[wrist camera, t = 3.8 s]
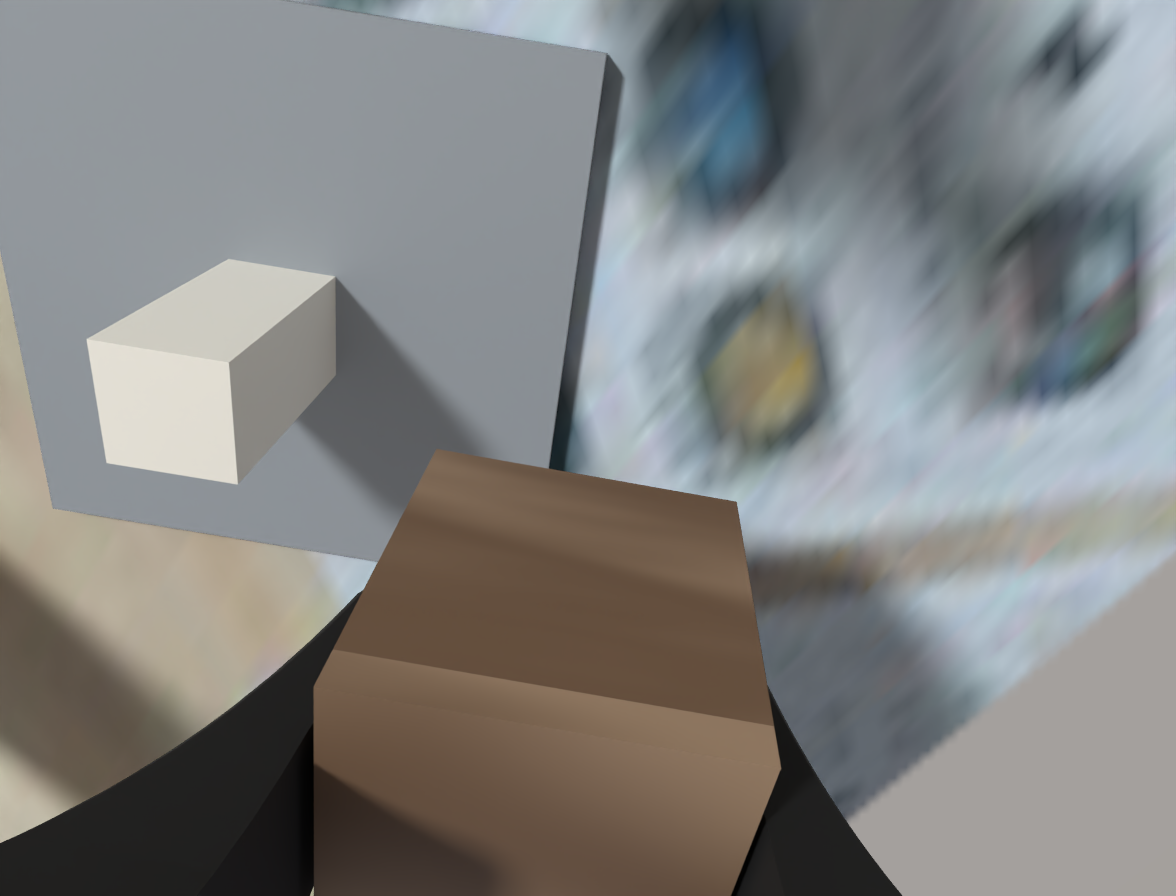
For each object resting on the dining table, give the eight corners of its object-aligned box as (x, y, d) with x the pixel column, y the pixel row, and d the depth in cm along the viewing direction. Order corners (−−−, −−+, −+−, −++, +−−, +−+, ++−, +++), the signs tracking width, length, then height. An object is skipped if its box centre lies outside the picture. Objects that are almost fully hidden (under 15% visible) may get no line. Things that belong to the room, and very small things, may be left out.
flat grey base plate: (534, 576, 24) (498, 735, 19) (64, 499, 24) (-105, 637, 19) (607, 53, 17) (585, 69, 12) (-45, -55, 17) (-356, -86, 12)
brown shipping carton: (673, 718, 16) (680, 1022, 11) (418, 673, 16) (314, 959, 11) (736, 501, 14) (781, 767, 9) (436, 448, 14) (313, 687, 9)
